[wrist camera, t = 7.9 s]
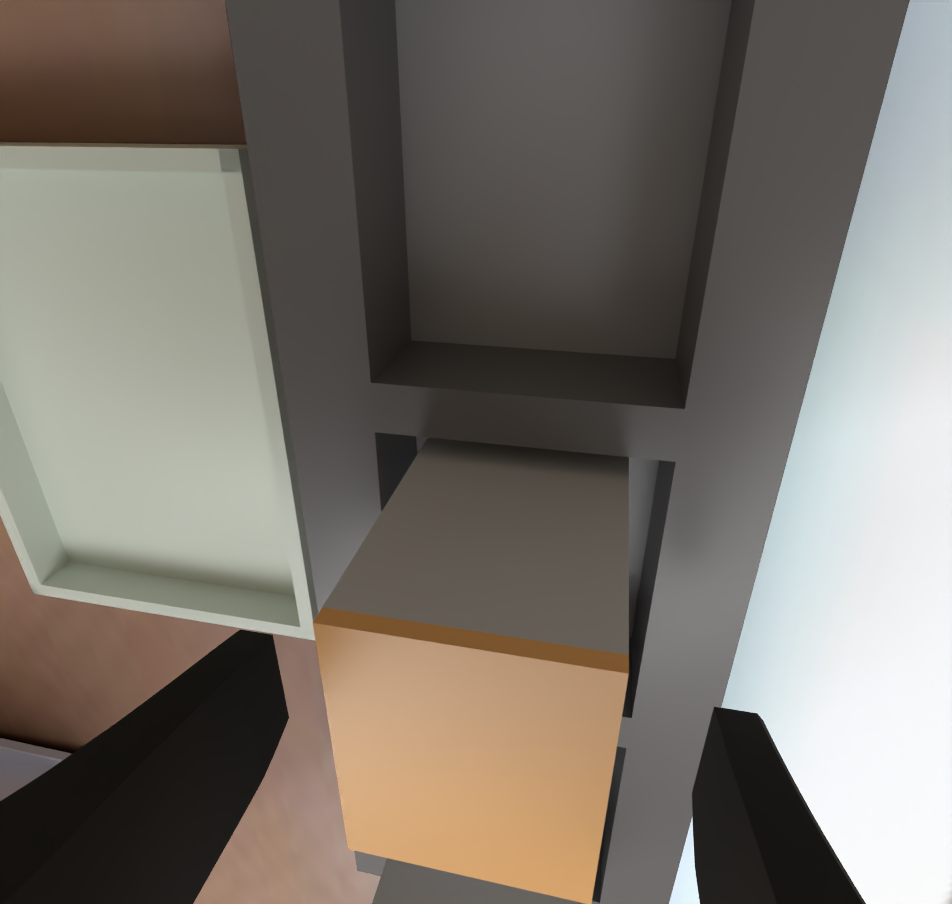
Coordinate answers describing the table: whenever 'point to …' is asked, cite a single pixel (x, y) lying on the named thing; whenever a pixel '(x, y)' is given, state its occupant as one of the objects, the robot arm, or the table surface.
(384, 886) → the twin plug
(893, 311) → the table surface
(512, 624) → the plug
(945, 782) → the table surface
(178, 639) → the table surface
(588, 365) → the grey slotted rack
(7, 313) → the tray
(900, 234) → the table surface
